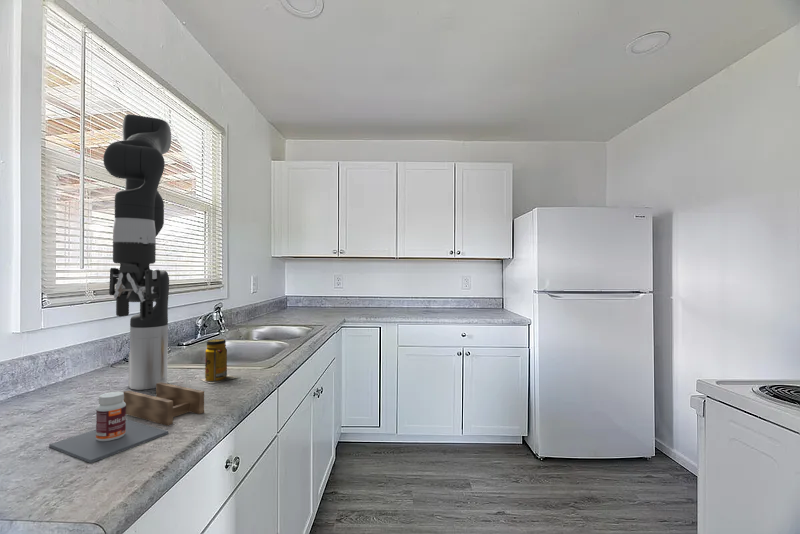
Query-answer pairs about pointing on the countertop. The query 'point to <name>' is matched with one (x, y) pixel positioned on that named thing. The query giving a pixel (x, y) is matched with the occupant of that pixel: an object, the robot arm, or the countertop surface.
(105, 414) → the pill bottle
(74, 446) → the mat
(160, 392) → the wooden rack
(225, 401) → the countertop surface
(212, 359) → the condiment
